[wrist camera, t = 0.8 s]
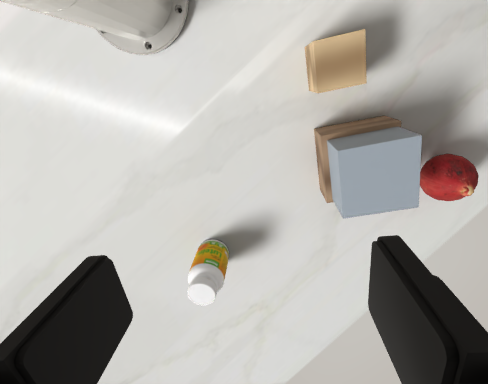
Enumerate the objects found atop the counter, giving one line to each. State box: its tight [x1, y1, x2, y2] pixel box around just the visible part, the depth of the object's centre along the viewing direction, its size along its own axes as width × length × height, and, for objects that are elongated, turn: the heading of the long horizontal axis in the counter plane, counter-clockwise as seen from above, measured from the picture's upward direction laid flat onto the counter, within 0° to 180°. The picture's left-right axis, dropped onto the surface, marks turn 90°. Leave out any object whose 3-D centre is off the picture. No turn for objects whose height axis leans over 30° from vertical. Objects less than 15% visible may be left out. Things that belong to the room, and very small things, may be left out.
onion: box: [420, 154, 478, 201], centre depth 33 cm, size 6×6×8 cm
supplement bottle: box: [187, 240, 229, 305], centre depth 40 cm, size 5×5×10 cm
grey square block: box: [327, 126, 422, 218], centre depth 30 cm, size 8×8×5 cm
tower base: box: [314, 116, 401, 203], centre depth 35 cm, size 9×9×5 cm
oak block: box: [305, 29, 366, 93], centre depth 30 cm, size 5×5×6 cm
